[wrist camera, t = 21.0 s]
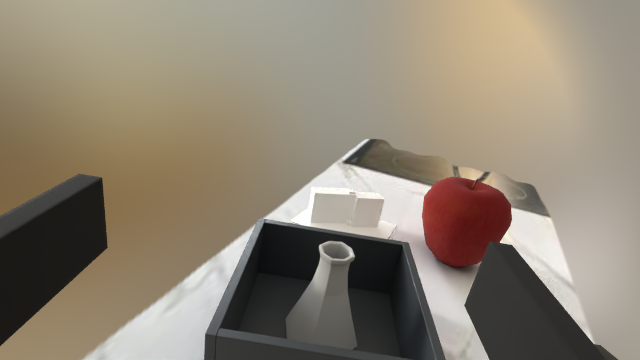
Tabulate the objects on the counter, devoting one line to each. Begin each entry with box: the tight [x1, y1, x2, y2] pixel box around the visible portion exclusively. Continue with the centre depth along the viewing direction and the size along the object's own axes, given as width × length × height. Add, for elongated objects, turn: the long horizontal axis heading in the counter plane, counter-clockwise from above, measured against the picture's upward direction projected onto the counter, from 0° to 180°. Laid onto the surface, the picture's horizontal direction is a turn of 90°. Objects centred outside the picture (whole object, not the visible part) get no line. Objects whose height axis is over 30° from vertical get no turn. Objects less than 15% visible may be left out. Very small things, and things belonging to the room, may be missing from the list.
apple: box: [422, 177, 512, 267], centre depth 53 cm, size 12×12×13 cm
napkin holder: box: [291, 187, 397, 239], centre depth 59 cm, size 15×11×6 cm
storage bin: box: [204, 218, 446, 360], centre depth 35 cm, size 18×18×8 cm
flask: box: [285, 241, 357, 350], centre depth 34 cm, size 7×7×10 cm
